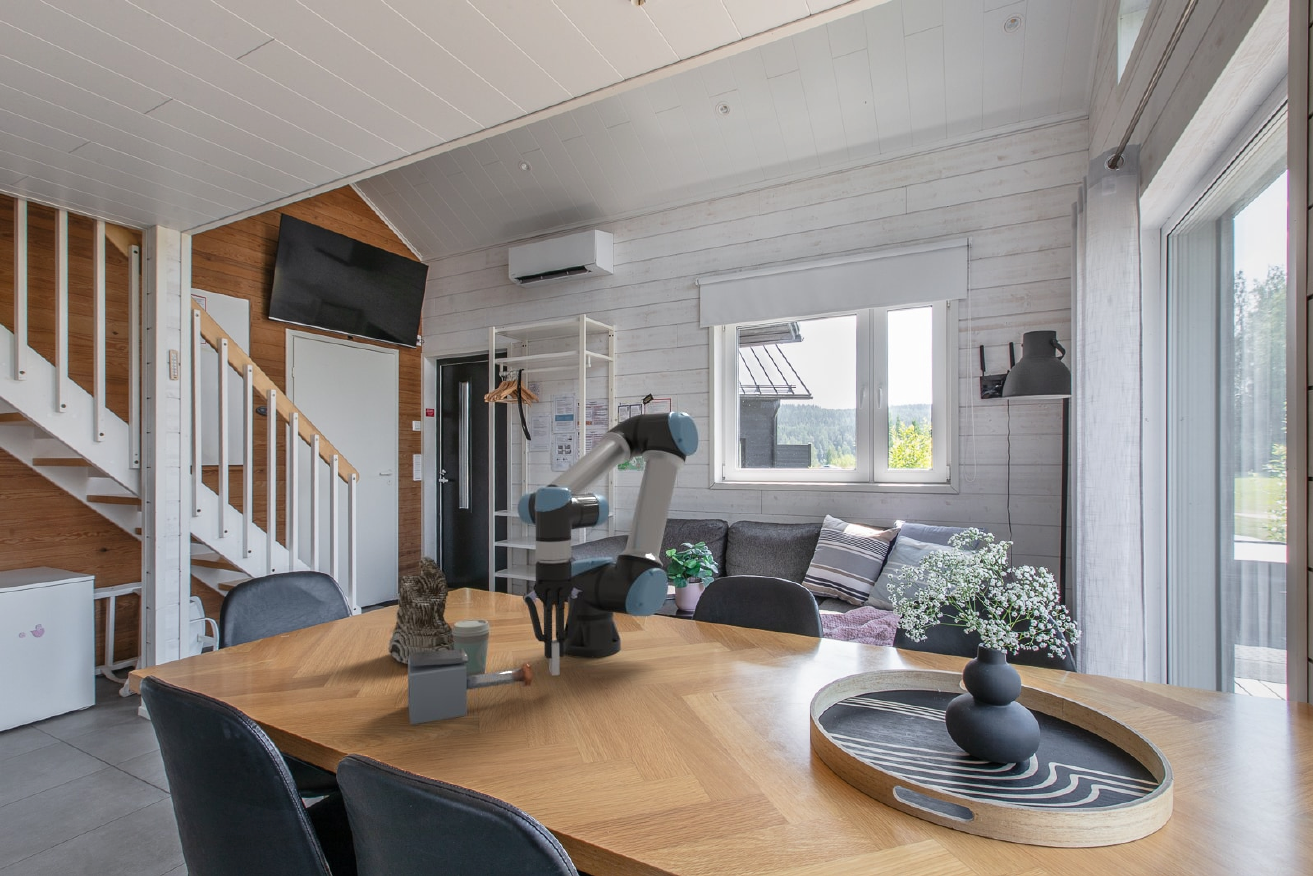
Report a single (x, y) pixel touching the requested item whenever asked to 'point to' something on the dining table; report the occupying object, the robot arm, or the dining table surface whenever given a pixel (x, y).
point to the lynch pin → (501, 678)
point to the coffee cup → (472, 643)
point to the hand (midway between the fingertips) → (554, 673)
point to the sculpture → (421, 614)
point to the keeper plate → (438, 657)
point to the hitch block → (436, 692)
